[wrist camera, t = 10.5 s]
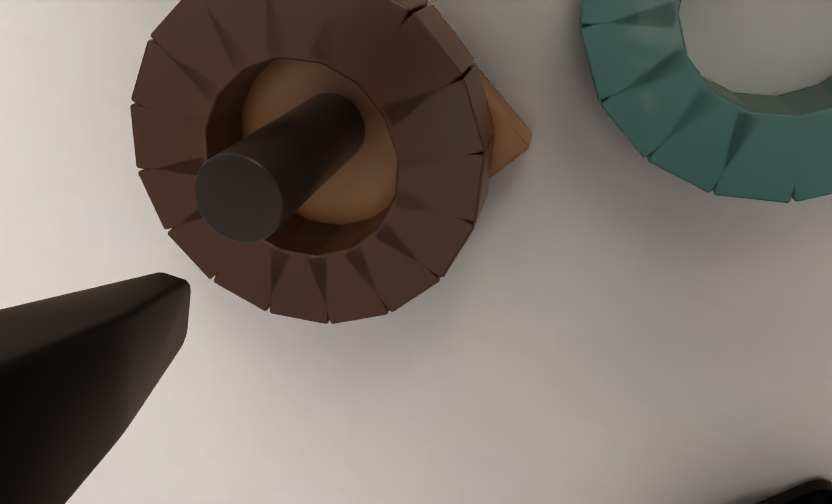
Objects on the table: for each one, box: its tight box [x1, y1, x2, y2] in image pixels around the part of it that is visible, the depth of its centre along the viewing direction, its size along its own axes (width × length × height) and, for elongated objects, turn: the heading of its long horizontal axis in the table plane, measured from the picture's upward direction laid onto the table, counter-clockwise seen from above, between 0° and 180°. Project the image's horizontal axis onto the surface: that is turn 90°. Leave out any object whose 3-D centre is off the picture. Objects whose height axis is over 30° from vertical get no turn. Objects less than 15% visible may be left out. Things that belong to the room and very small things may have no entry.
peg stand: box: [194, 6, 532, 243], centre depth 18 cm, size 8×8×8 cm
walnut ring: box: [130, 0, 495, 324], centre depth 19 cm, size 10×10×2 cm
